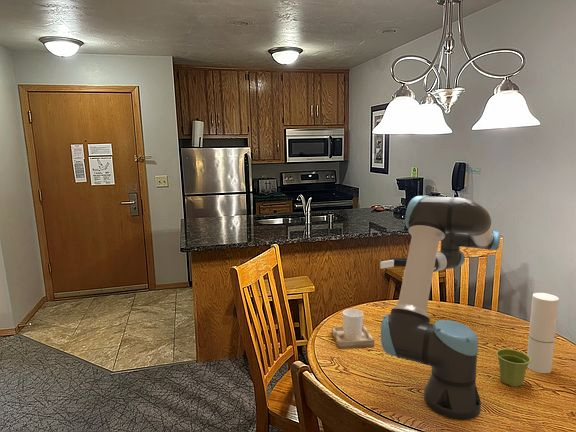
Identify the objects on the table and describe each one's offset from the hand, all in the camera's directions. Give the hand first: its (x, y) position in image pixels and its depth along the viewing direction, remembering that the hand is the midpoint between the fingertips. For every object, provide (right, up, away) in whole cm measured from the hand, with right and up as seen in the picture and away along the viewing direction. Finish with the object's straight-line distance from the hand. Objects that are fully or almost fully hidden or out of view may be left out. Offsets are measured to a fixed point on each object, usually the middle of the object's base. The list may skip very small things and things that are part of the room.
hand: (391, 269), depth 155 cm
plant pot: (+30, -32, -29) cm, 52 cm away
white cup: (-15, -26, 0) cm, 31 cm away
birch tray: (-15, -27, 0) cm, 31 cm away
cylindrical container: (+43, -30, -22) cm, 57 cm away
